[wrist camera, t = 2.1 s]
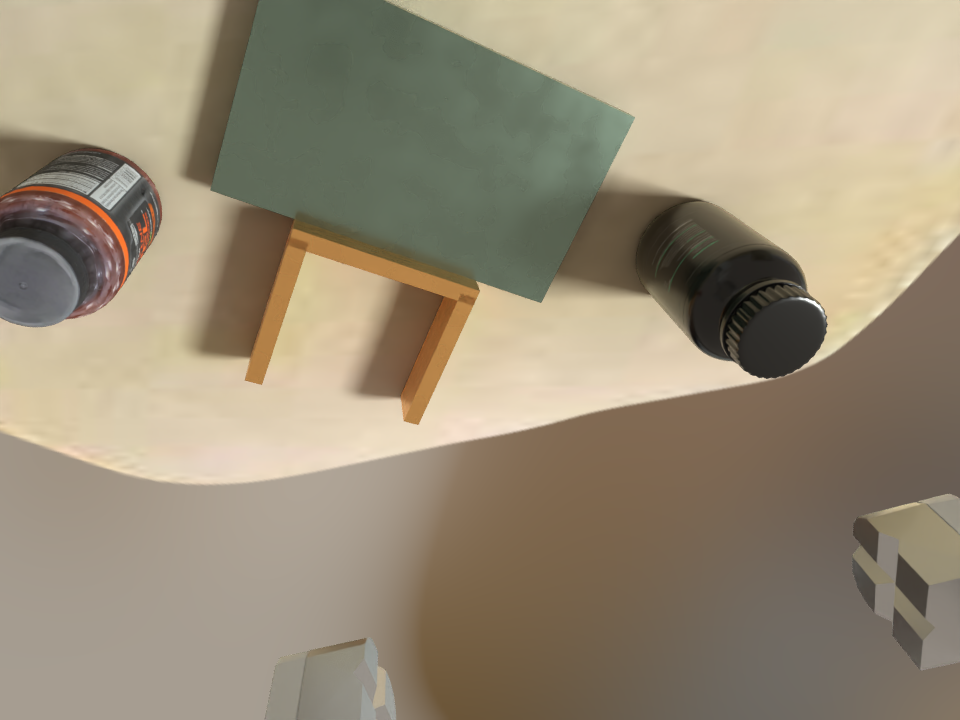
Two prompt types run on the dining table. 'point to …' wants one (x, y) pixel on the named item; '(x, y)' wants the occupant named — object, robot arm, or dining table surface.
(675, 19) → the dining table surface
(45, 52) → the dining table surface
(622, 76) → the dining table surface
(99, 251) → the supplement bottle
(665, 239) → the supplement bottle
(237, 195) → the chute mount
